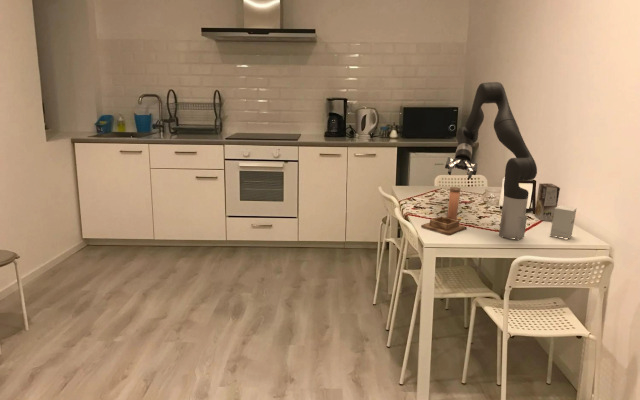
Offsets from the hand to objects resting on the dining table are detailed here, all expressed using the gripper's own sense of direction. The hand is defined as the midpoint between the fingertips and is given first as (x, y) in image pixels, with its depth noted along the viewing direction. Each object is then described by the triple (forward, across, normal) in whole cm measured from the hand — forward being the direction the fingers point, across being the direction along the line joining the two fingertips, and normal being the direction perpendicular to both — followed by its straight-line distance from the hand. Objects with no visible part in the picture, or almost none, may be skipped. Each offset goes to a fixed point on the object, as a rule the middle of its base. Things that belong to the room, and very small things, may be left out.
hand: (459, 175), depth 237 cm
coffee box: (-7, +44, +20) cm, 48 cm away
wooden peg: (+15, +1, +14) cm, 21 cm away
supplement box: (+17, +46, +6) cm, 50 cm away
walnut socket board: (+27, -2, +9) cm, 28 cm away
